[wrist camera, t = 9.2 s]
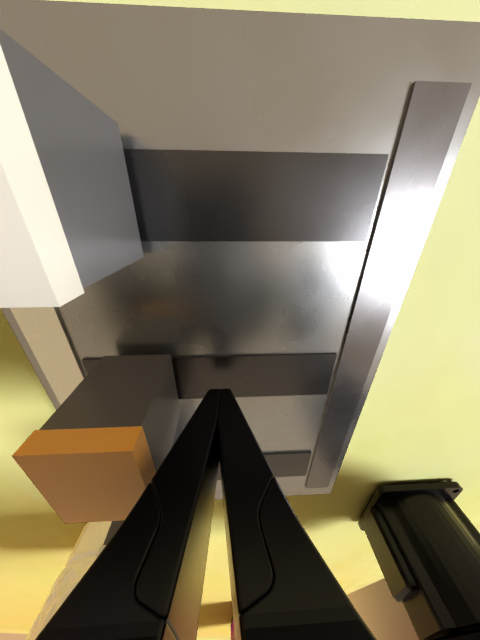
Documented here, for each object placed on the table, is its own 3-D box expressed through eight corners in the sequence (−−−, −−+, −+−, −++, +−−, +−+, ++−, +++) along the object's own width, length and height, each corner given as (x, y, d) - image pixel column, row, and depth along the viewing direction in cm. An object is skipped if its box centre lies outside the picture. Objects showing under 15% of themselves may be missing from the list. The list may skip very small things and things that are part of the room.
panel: (446, 64, 6) (511, 20, 5) (321, 468, 15) (331, 495, 14) (-75, 43, 5) (-182, -16, 4) (119, 478, 14) (107, 507, 13)
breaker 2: (171, 353, 8) (132, 450, 5) (181, 412, 9) (156, 518, 6) (101, 354, 8) (11, 456, 5) (122, 414, 9) (64, 523, 6)
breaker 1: (119, 120, 5) (-87, -52, 2) (145, 258, 6) (59, 307, 3) (5, 118, 5) (-450, -77, 2) (57, 259, 6) (-126, 309, 3)
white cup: (57, 515, 16) (-148, 878, 7) (153, 496, 16) (56, 864, 7) (110, 553, 20) (14, 830, 11) (190, 539, 19) (158, 819, 10)
